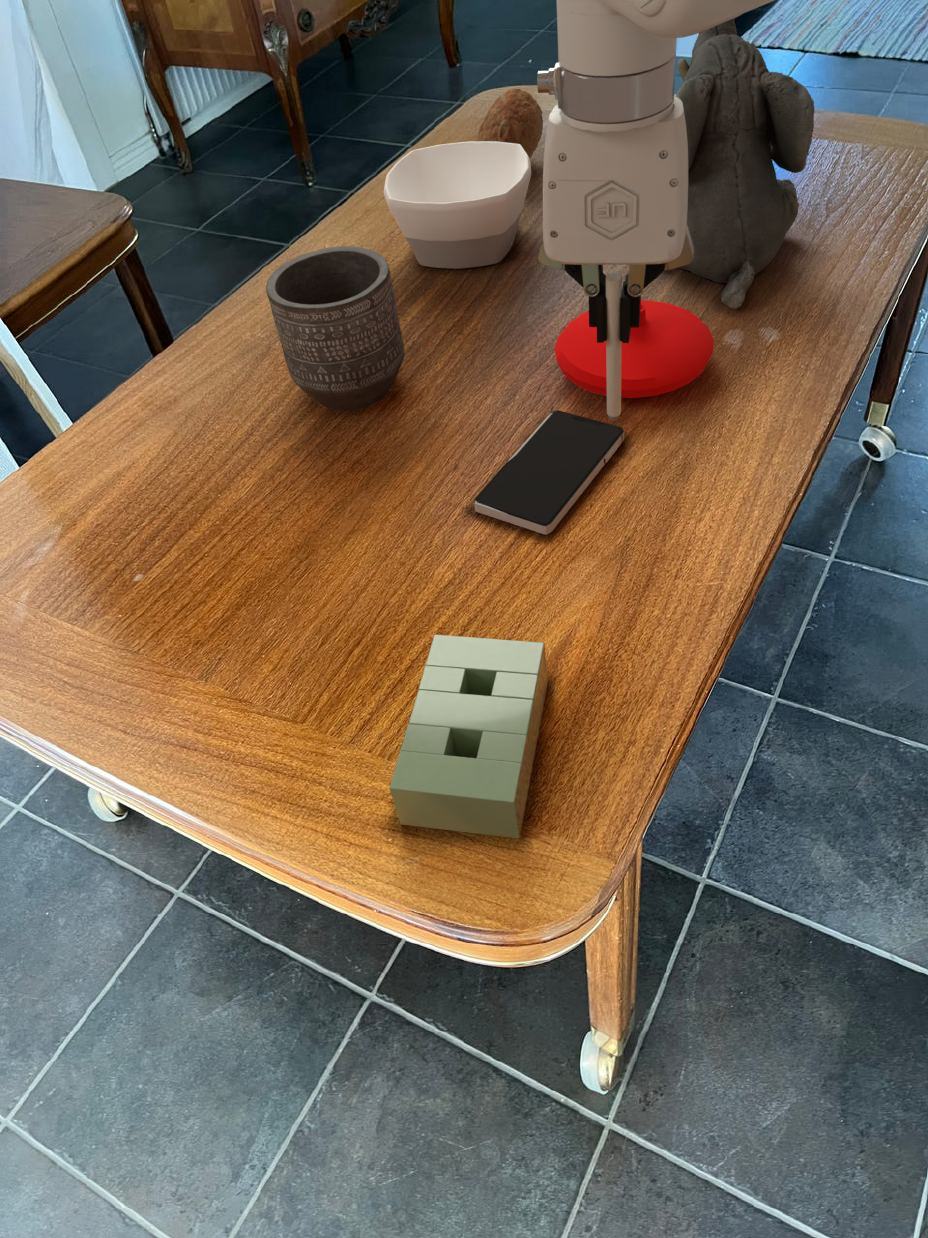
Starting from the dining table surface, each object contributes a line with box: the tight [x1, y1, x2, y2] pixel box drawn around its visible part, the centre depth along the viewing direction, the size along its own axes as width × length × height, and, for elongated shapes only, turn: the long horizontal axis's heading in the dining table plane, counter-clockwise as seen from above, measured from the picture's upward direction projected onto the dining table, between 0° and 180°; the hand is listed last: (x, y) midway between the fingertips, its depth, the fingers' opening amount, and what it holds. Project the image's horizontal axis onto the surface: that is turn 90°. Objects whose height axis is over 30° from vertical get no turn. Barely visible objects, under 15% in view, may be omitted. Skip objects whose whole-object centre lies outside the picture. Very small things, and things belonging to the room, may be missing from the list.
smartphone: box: [473, 409, 625, 535], centre depth 88 cm, size 8×1×15 cm
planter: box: [265, 245, 405, 412], centre depth 98 cm, size 12×12×13 cm
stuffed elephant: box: [675, 18, 815, 310], centre depth 103 cm, size 19×21×27 cm
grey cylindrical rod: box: [606, 272, 623, 422], centre depth 78 cm, size 1×1×14 cm
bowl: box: [383, 140, 532, 270], centre depth 118 cm, size 18×18×9 cm
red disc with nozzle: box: [553, 299, 715, 399], centre depth 96 cm, size 16×16×7 cm
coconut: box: [477, 88, 544, 159], centre depth 131 cm, size 10×13×10 cm
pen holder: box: [388, 633, 549, 839], centre depth 67 cm, size 13×8×4 cm, turn 169°
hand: (614, 332), depth 77 cm, fingers closed on grey cylindrical rod, 1 cm apart
